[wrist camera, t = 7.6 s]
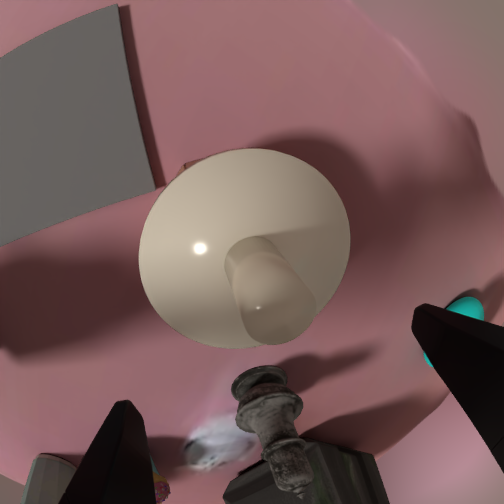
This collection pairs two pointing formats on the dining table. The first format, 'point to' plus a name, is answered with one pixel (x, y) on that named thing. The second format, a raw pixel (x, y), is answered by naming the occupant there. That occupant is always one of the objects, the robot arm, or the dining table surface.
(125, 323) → the dining table surface
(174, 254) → the lid
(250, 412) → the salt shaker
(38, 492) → the disposable coffee cup
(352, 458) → the bottle
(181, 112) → the dining table surface
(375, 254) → the dining table surface
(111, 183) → the mat
